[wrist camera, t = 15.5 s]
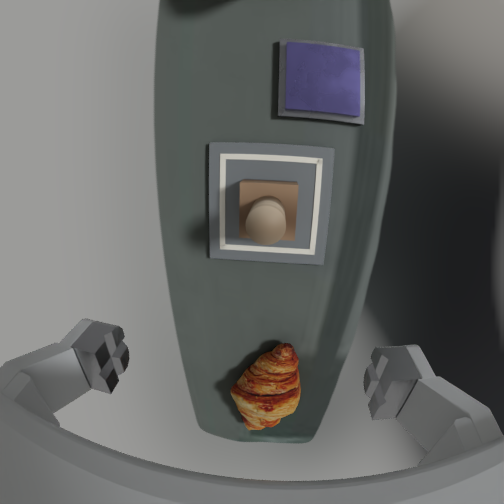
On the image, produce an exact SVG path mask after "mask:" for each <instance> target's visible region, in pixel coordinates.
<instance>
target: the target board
mask: <svg viewBox="0 0 504 504" xmlns="http://www.w3.org/2000/svg"><path fill="white" fill-rule="evenodd" d="M334 149H335V148H326V147H315V146H303V145H289V144H270V143H234V142H214V143H209V240H210V258H217V259H232V260H248V261H264V262H281V263H297V264H315V265H324V257H325V249H326V241H327V232H328V223H329V213H330V203H331V192H332V180H333V166H334ZM243 179H260V180H280V181H297V183H298V185H299V186H298V202H297V217H296V230H295V241H290V240H279V241H278V242H276V243H274V244H271V245H261V244H258V243H256V242H254V241H253V240H252V239H251V238H239V206H240V182H241V181H242V180H243Z"/></svg>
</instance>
